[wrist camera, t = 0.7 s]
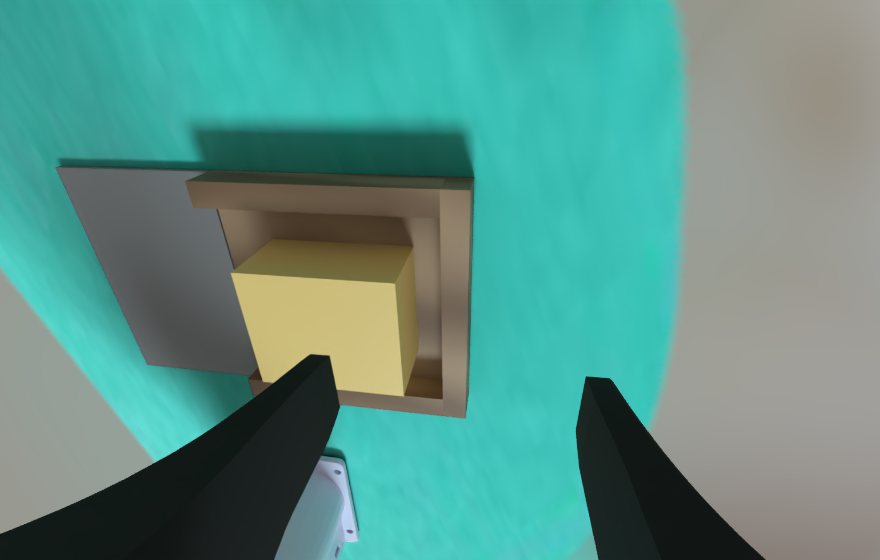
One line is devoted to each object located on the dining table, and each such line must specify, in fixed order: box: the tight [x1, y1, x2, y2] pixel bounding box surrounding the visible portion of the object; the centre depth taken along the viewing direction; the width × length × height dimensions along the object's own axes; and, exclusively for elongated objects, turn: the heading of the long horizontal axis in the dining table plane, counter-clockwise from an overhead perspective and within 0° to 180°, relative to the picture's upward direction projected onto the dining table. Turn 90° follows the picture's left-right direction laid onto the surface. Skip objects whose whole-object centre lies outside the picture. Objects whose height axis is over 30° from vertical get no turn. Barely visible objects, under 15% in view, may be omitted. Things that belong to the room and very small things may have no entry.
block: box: [231, 239, 419, 396], centre depth 20 cm, size 6×7×4 cm
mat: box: [56, 166, 258, 375], centre depth 23 cm, size 12×8×1 cm, turn 1°
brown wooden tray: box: [185, 170, 474, 418], centre depth 21 cm, size 12×12×2 cm
